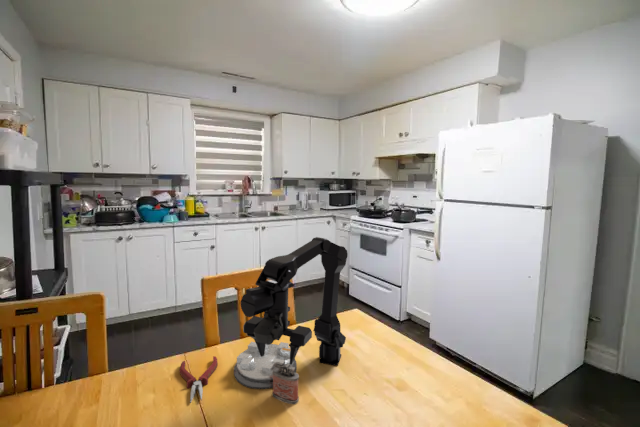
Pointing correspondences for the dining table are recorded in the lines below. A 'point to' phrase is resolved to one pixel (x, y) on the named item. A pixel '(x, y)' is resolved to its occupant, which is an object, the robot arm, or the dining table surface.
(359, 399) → the dining table surface
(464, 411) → the dining table surface
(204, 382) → the pliers
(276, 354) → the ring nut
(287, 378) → the lighter
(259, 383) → the base plate
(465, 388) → the dining table surface
